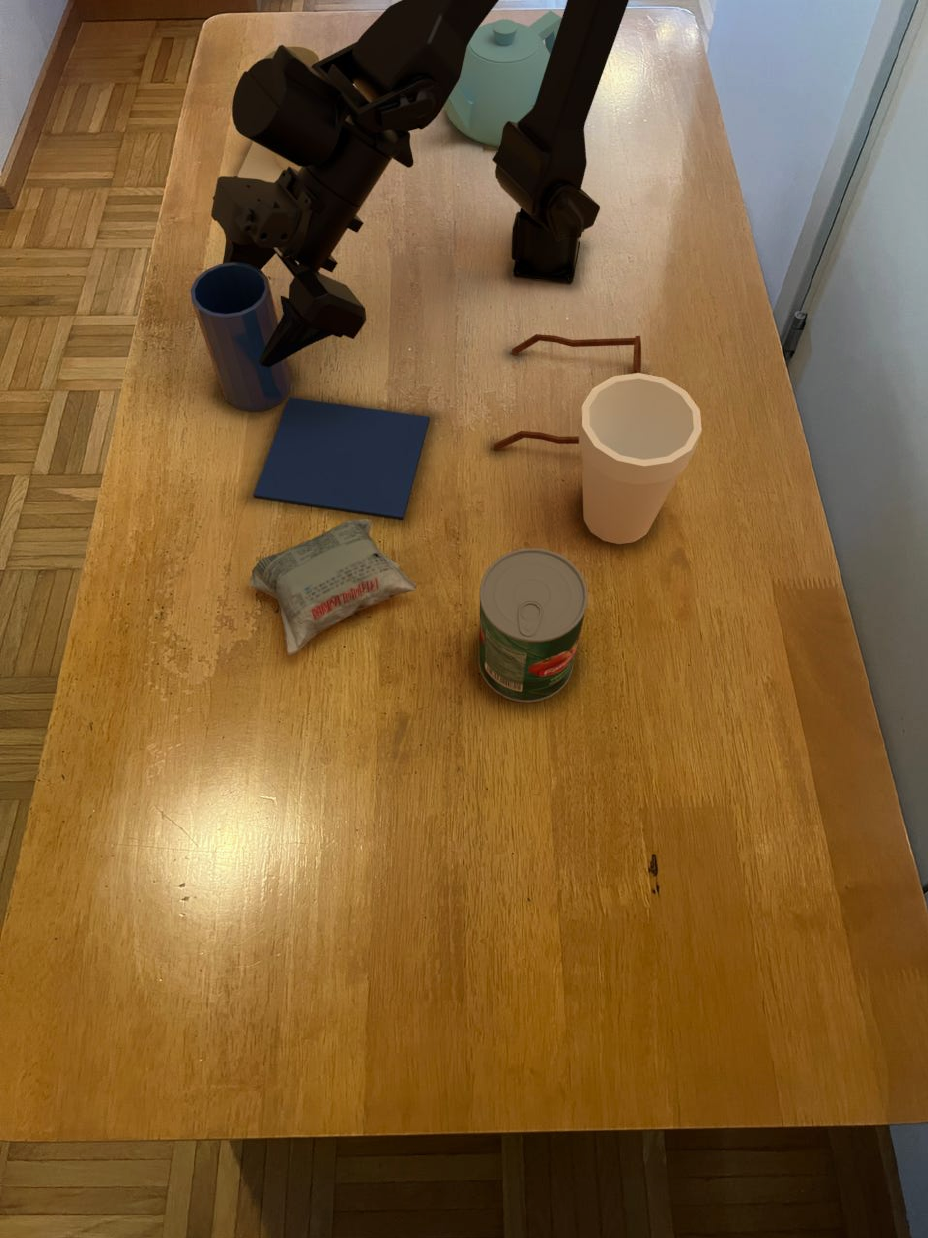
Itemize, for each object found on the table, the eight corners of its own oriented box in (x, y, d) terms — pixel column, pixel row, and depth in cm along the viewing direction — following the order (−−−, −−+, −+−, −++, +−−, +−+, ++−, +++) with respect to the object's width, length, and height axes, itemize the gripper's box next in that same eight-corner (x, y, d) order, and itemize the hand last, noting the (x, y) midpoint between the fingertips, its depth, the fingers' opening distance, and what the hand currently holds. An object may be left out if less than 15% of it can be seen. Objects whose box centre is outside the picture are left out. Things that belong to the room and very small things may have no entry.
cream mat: (376, 135, 111) (376, 132, 111) (352, 200, 105) (352, 197, 105) (263, 123, 112) (263, 120, 112) (234, 186, 107) (233, 183, 106)
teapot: (567, 158, 109) (576, 66, 99) (438, 157, 109) (436, 65, 100) (563, 81, 116) (571, -12, 107) (442, 80, 116) (440, -13, 107)
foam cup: (678, 486, 86) (710, 387, 74) (661, 568, 81) (692, 476, 70) (577, 464, 87) (593, 363, 76) (555, 544, 83) (569, 450, 71)
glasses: (631, 467, 87) (640, 432, 82) (493, 450, 88) (494, 414, 83) (640, 364, 93) (649, 326, 89) (511, 349, 94) (513, 311, 90)
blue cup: (299, 364, 93) (278, 267, 83) (280, 416, 90) (256, 321, 79) (234, 356, 94) (204, 257, 83) (213, 406, 91) (180, 311, 80)
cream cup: (341, 142, 110) (329, 47, 100) (327, 179, 107) (313, 84, 97) (286, 136, 110) (268, 41, 101) (270, 172, 107) (250, 77, 98)
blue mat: (429, 419, 90) (429, 416, 89) (403, 519, 84) (403, 517, 84) (289, 399, 91) (288, 396, 91) (254, 497, 85) (253, 494, 85)
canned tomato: (485, 612, 79) (488, 540, 70) (578, 625, 79) (593, 554, 69) (471, 696, 75) (471, 632, 66) (567, 710, 75) (582, 648, 65)
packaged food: (417, 603, 80) (414, 572, 75) (292, 666, 77) (281, 637, 73) (371, 531, 83) (365, 498, 79) (249, 589, 81) (237, 557, 76)
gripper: (208, 83, 76) (124, 245, 82) (315, 211, 68) (212, 378, 75) (308, 141, 85) (225, 284, 91) (412, 260, 77) (313, 406, 84)
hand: (241, 333), depth 85 cm, fingers open, 9 cm apart
